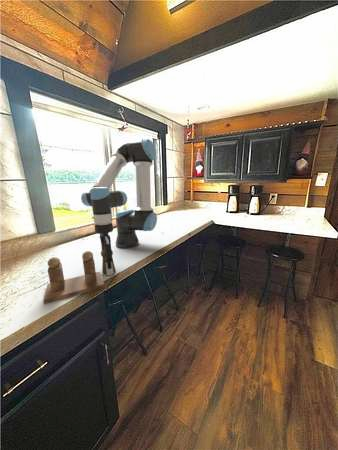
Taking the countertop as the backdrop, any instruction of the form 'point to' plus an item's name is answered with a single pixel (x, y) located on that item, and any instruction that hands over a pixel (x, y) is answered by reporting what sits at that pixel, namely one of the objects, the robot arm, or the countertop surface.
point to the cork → (105, 263)
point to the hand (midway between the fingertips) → (108, 271)
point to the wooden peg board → (71, 280)
